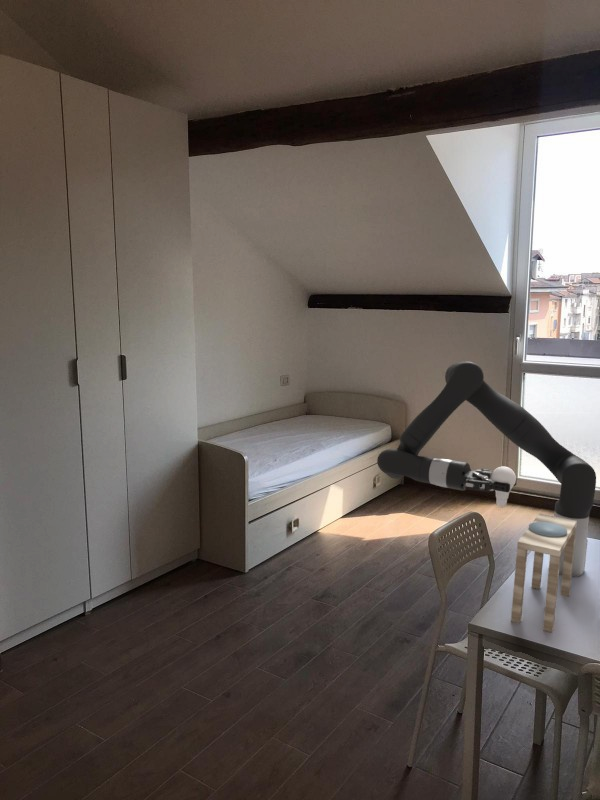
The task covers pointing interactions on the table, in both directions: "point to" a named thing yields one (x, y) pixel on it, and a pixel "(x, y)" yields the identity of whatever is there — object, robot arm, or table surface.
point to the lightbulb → (503, 476)
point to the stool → (542, 539)
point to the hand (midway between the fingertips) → (512, 485)
